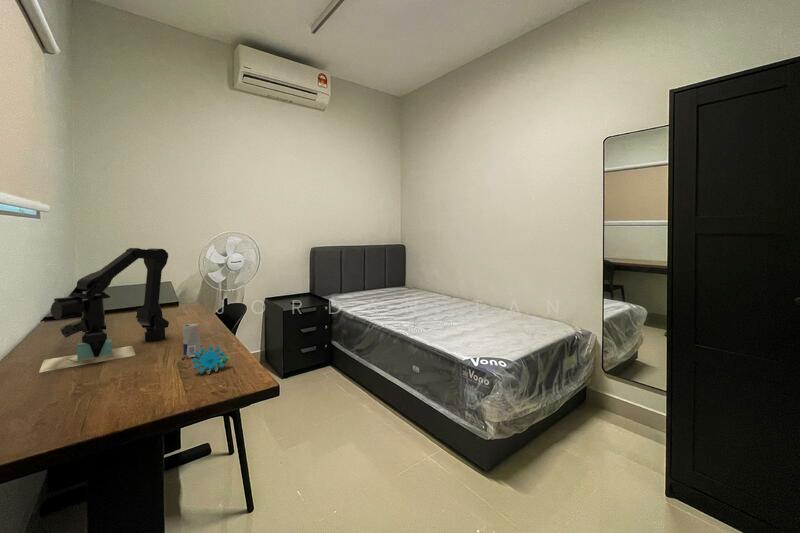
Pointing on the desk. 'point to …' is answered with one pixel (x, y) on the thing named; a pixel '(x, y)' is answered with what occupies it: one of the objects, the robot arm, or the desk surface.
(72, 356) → the board
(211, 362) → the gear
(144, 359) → the desk surface
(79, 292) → the robot arm
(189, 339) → the energy drink
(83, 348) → the sanding block
